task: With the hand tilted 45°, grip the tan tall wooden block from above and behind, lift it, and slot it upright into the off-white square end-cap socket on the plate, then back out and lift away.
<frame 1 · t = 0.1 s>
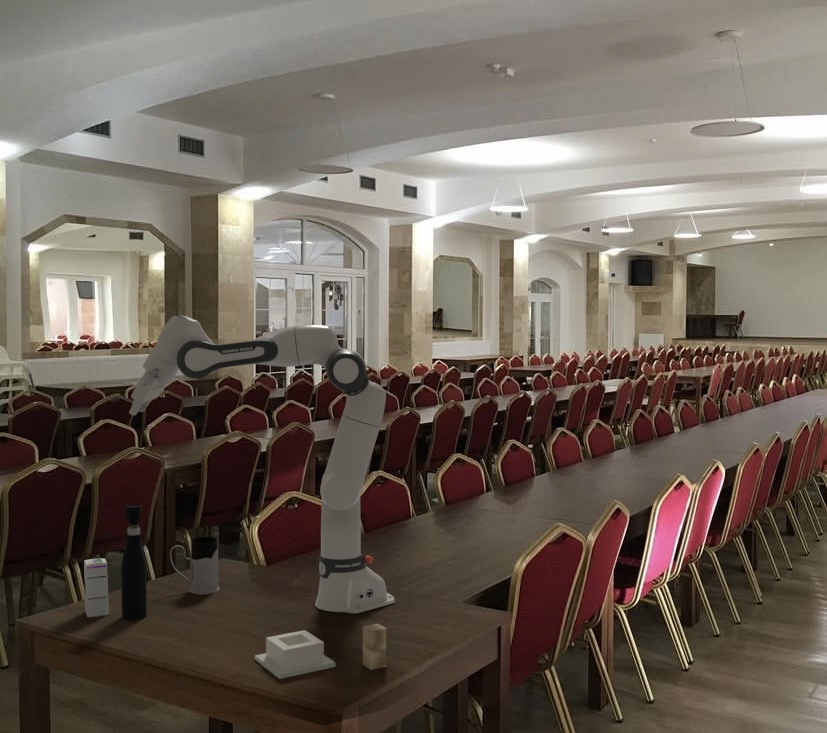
hand: (136, 412, 255), 54 cm above the table, tool tilted 30°, fingers open, 8 cm apart
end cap: (294, 663, 216), on the table
grey mug: (195, 591, 274), on the table
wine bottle: (134, 617, 250), on the table
syrup box: (96, 614, 252), on the table
tan tall wooden block: (374, 665, 215), on the table
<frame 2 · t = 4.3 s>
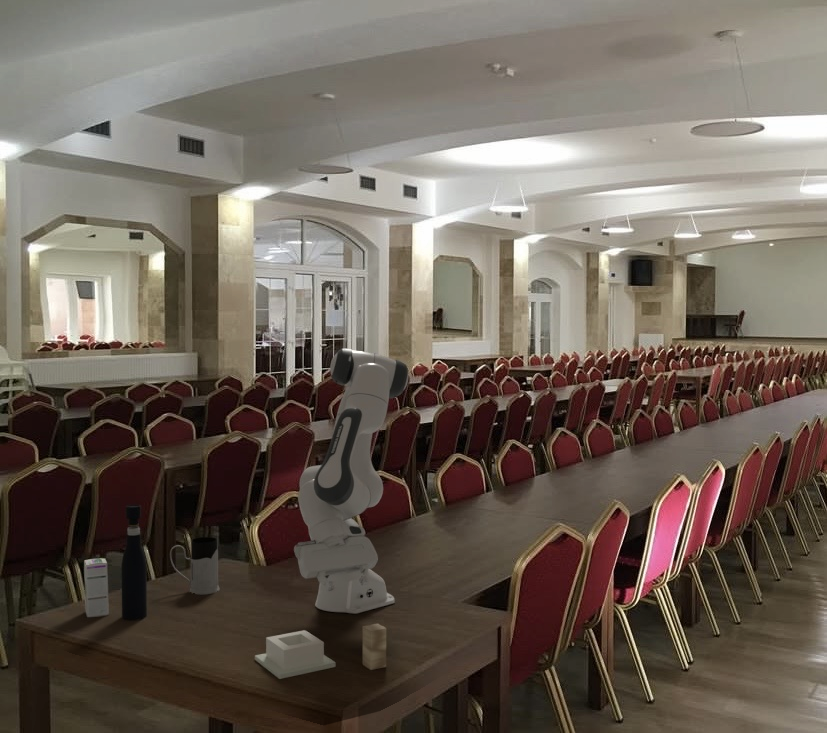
hand: (348, 586, 224), 15 cm above the table, tool tilted 45°, fingers open, 8 cm apart
nothing on the table moved.
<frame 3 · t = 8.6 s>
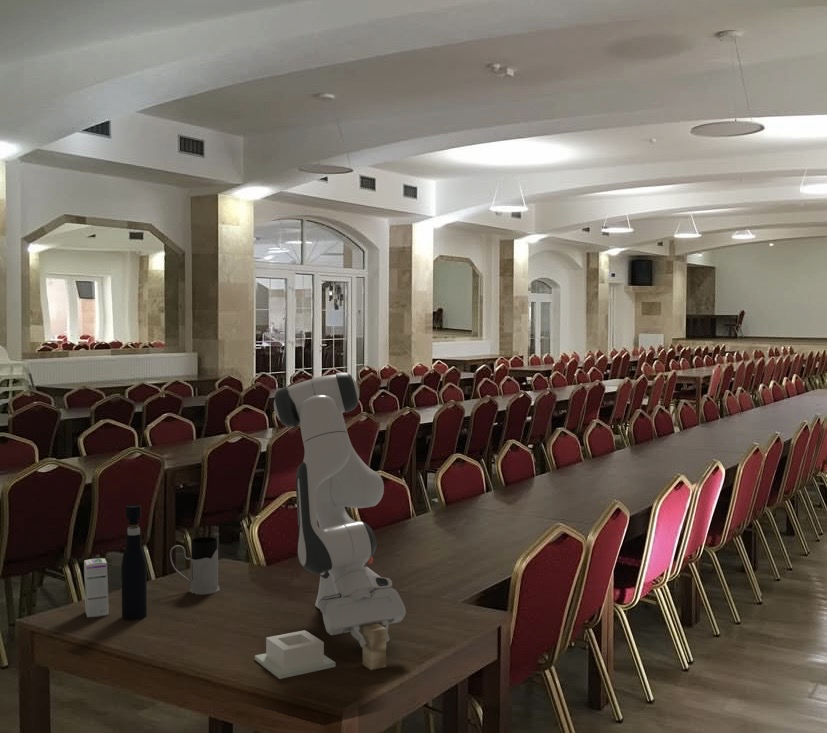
hand: (375, 643, 214), 5 cm above the table, tool tilted 45°, fingers closed on tan tall wooden block, 4 cm apart
tan tall wooden block: (374, 665, 215), on the table, touching gripper
everything else where it was.
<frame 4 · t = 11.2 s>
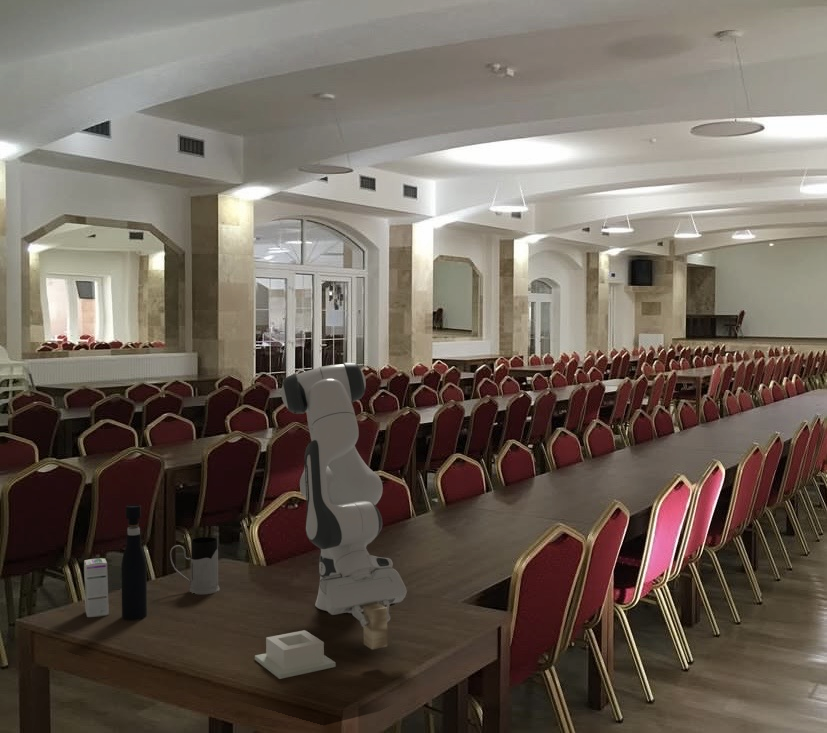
hand: (376, 623, 214), 10 cm above the table, tool tilted 45°, fingers closed on tan tall wooden block, 4 cm apart
tan tall wooden block: (375, 645, 215), point 5 cm above the table, touching gripper
everything else where it was.
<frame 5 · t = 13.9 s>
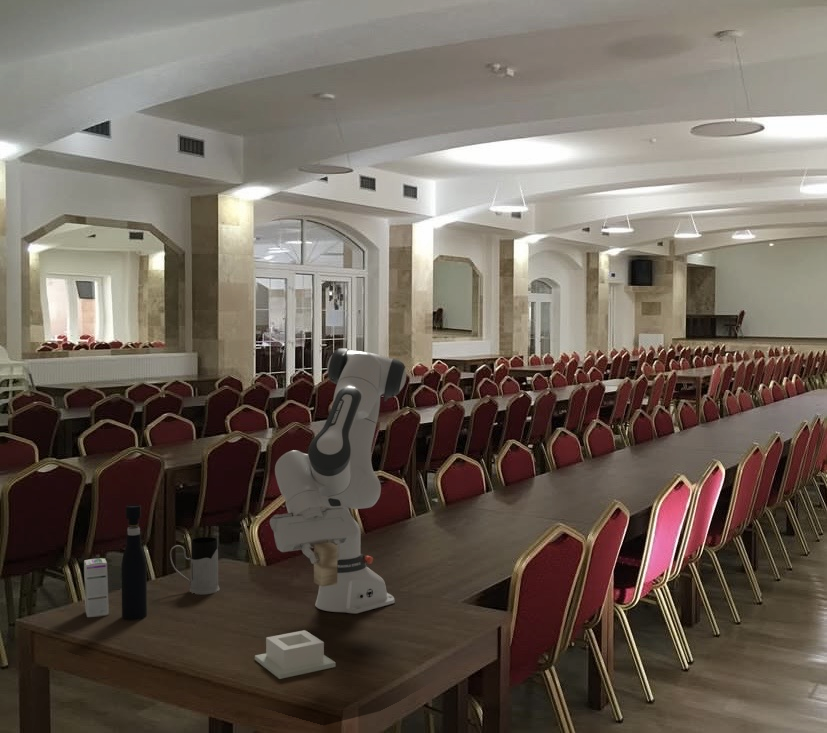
hand: (326, 560, 214), 24 cm above the table, tool tilted 45°, fingers closed on tan tall wooden block, 4 cm apart
tan tall wooden block: (325, 583, 215), point 19 cm above the table, touching gripper
everything else where it was.
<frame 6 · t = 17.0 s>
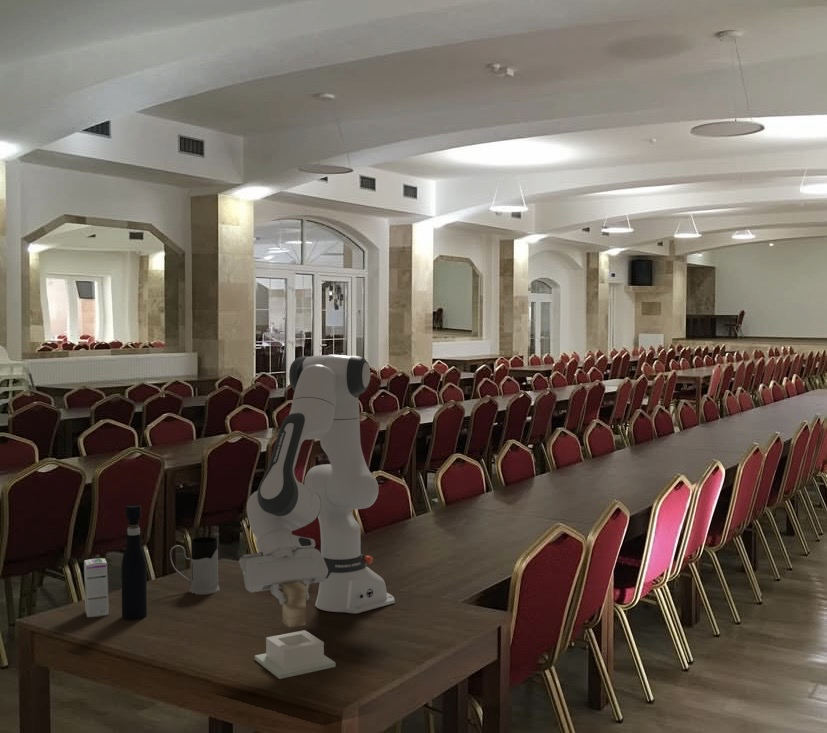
hand: (295, 601, 215), 15 cm above the table, tool tilted 45°, fingers closed on tan tall wooden block, 4 cm apart
tan tall wooden block: (293, 623, 215), point 9 cm above the table, touching gripper
everything else where it was.
when the fingers open (8 cm above the table, at t = 19.4 s): tan tall wooden block drops 1 cm, resting on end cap.
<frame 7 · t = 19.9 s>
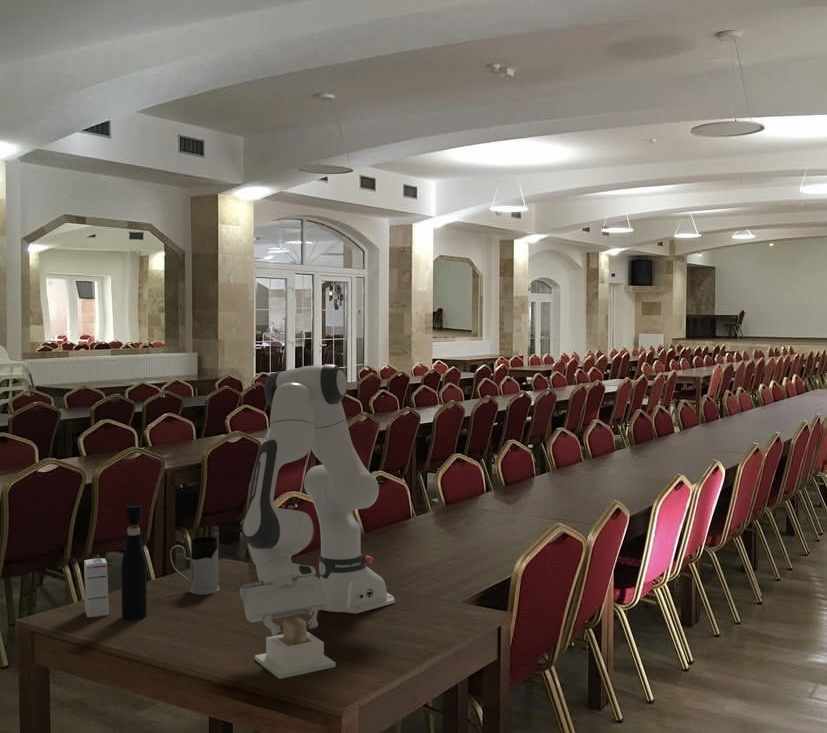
hand: (295, 630, 215), 8 cm above the table, tool tilted 45°, fingers open, 8 cm apart
tan tall wooden block: (294, 659, 216), point 1 cm above the table, touching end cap
everything else where it was.
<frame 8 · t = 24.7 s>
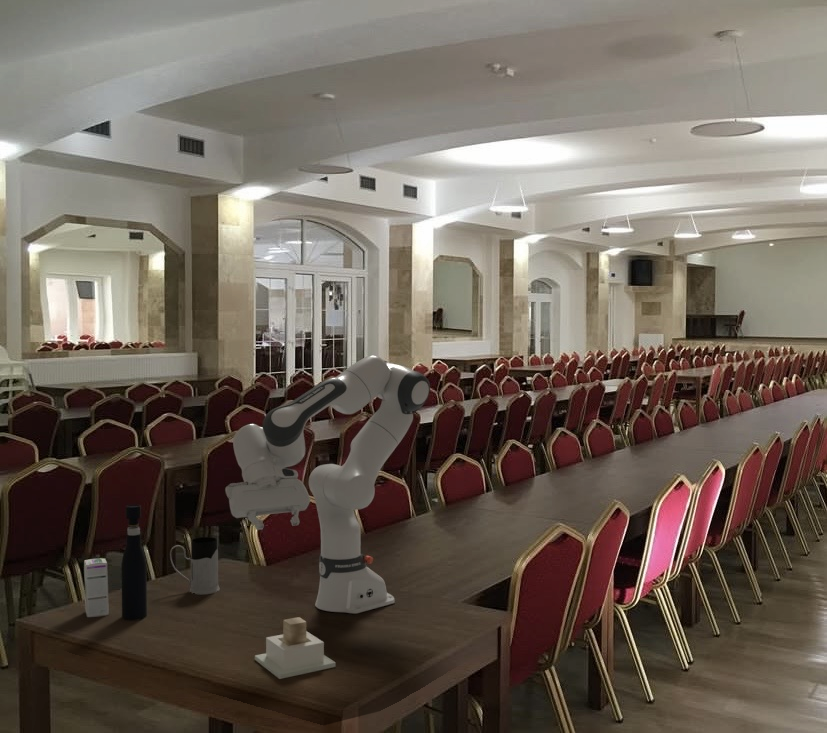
hand: (278, 526, 227), 29 cm above the table, tool tilted 45°, fingers open, 8 cm apart
nothing on the table moved.
at the end: tan tall wooden block 0.0 cm off-centre on the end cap, point 1.0 cm above the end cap's base; tan tall wooden block tilted 0°; the gripper is holding nothing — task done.
